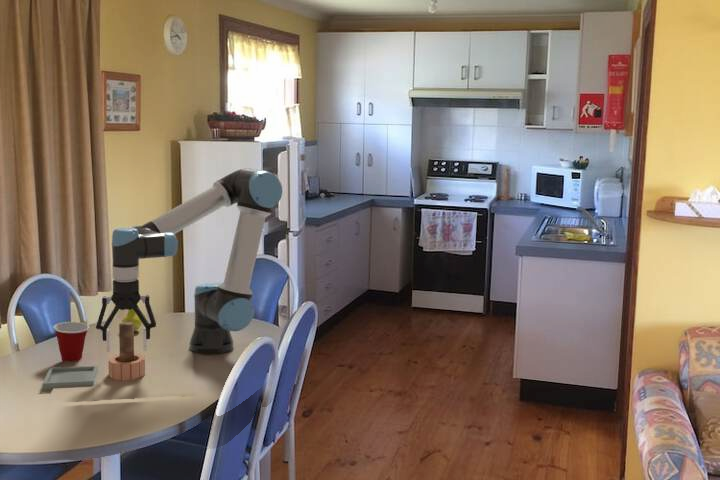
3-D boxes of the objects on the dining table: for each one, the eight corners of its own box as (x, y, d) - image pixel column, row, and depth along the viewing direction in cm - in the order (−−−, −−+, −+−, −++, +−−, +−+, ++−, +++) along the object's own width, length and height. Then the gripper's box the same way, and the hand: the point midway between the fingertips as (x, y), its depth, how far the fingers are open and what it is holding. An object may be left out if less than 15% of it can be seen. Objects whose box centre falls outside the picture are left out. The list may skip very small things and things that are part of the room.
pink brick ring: (145, 370, 232) (145, 352, 231) (144, 382, 222) (144, 363, 221) (110, 372, 229) (110, 353, 228) (107, 384, 219) (107, 365, 218)
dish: (98, 372, 229) (98, 365, 228) (93, 388, 215) (93, 380, 215) (50, 374, 225) (50, 367, 225) (42, 390, 212) (42, 383, 212)
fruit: (137, 334, 269) (137, 303, 268) (119, 333, 269) (119, 302, 268) (143, 329, 276) (143, 298, 274) (125, 328, 276) (125, 297, 274)
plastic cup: (78, 368, 232) (77, 331, 230) (47, 364, 234) (46, 328, 232) (96, 357, 242) (95, 322, 240) (66, 354, 244) (66, 319, 242)
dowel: (134, 371, 228) (133, 321, 225) (133, 376, 224) (133, 325, 221) (120, 372, 227) (119, 322, 224) (119, 376, 223) (118, 326, 220)
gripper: (164, 276, 227) (165, 344, 230) (87, 277, 221) (88, 347, 225) (164, 281, 220) (164, 352, 223) (84, 282, 214) (86, 355, 218)
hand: (126, 349), depth 224 cm, fingers open, 10 cm apart
